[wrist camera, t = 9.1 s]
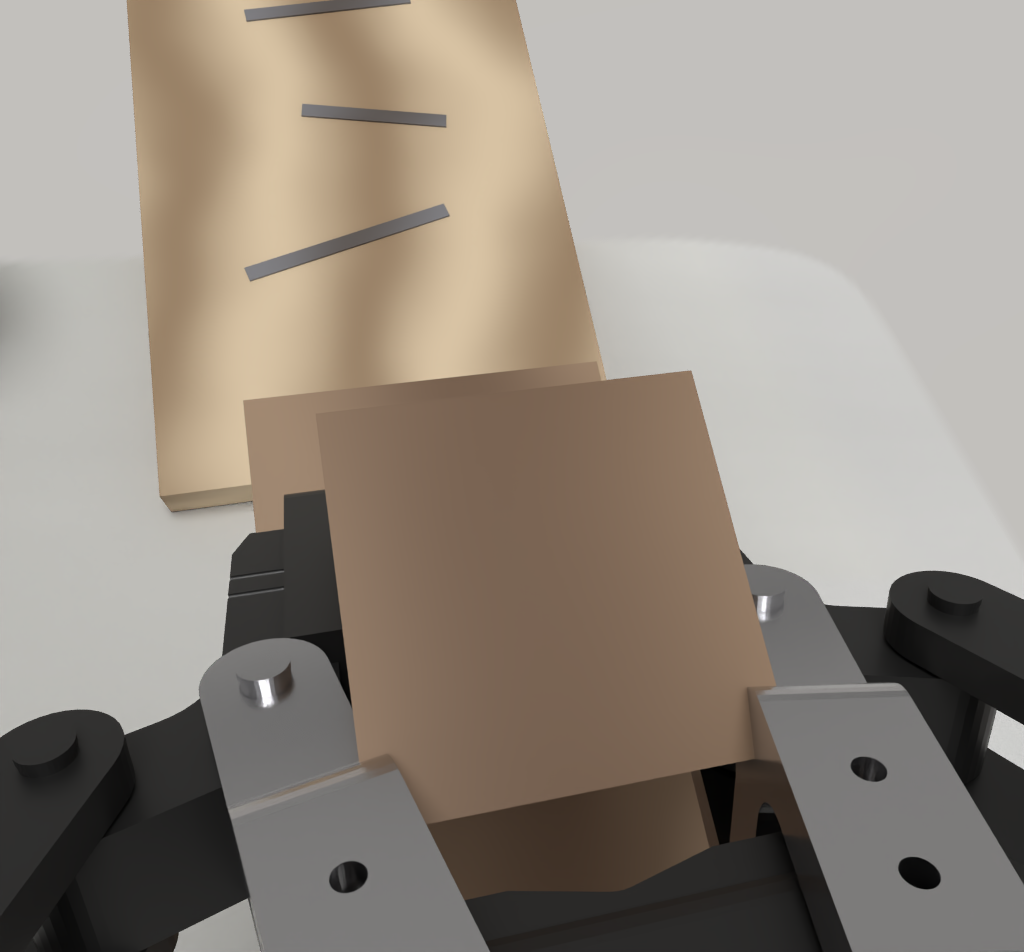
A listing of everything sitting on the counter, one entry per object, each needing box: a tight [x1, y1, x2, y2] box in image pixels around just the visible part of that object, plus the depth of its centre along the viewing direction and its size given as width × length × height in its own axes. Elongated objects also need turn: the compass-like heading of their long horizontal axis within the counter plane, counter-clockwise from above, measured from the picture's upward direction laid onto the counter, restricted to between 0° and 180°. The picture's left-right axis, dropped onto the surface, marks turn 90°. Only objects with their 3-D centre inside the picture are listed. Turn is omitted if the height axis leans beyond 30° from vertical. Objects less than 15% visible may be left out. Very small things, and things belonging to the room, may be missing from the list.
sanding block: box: [243, 361, 776, 900], centre depth 12 cm, size 6×10×10 cm, turn 11°
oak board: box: [127, 0, 606, 512], centre depth 32 cm, size 14×20×2 cm
